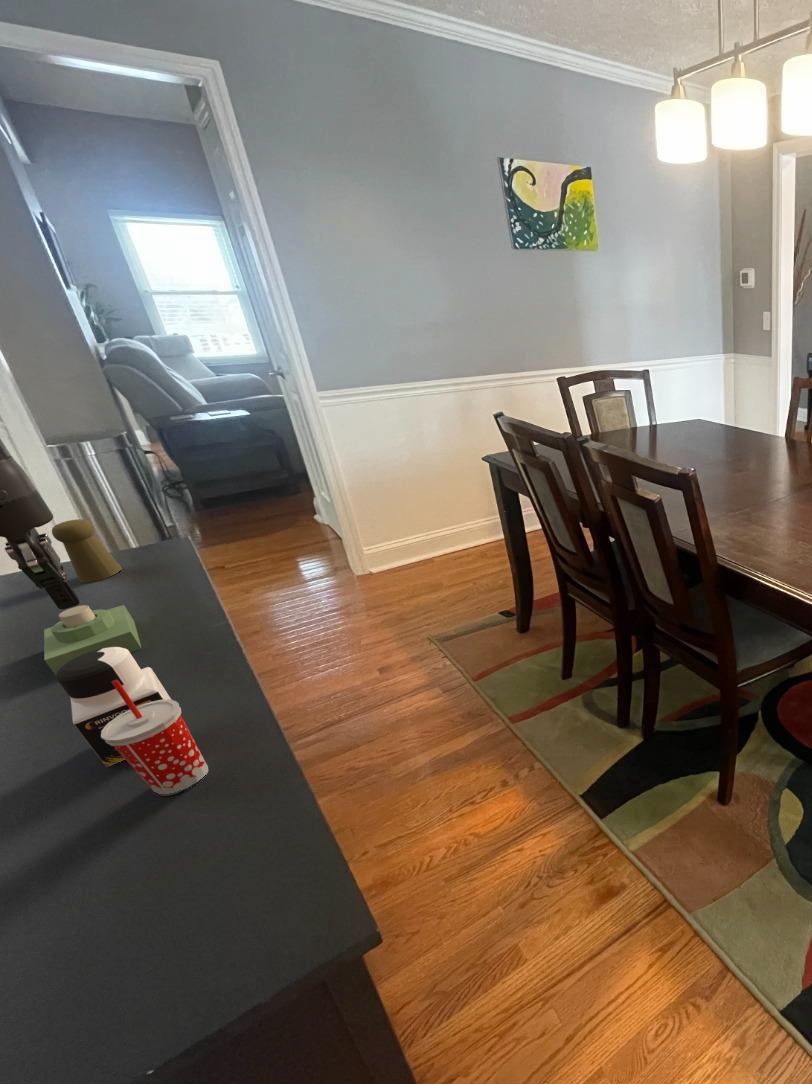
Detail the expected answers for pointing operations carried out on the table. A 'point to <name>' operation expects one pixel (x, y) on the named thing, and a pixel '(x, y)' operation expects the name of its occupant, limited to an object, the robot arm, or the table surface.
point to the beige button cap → (76, 616)
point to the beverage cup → (156, 744)
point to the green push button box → (90, 636)
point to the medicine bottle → (106, 693)
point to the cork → (85, 551)
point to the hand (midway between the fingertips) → (70, 605)
